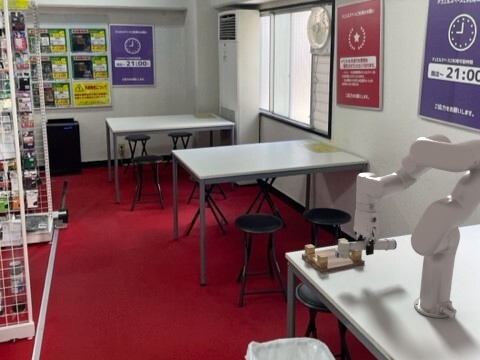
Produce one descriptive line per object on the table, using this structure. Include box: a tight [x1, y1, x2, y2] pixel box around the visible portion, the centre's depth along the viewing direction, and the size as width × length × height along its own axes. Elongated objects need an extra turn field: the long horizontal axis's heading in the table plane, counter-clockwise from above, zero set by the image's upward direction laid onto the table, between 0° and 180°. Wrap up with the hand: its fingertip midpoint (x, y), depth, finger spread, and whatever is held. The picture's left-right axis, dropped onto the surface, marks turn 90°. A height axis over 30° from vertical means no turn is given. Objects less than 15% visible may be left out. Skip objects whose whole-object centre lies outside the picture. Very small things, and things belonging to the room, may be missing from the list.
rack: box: [301, 238, 366, 274], centre depth 209 cm, size 16×20×6 cm
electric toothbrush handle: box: [334, 238, 398, 259], centre depth 193 cm, size 5×7×25 cm
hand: (365, 251), depth 193 cm, fingers closed on electric toothbrush handle, 5 cm apart
